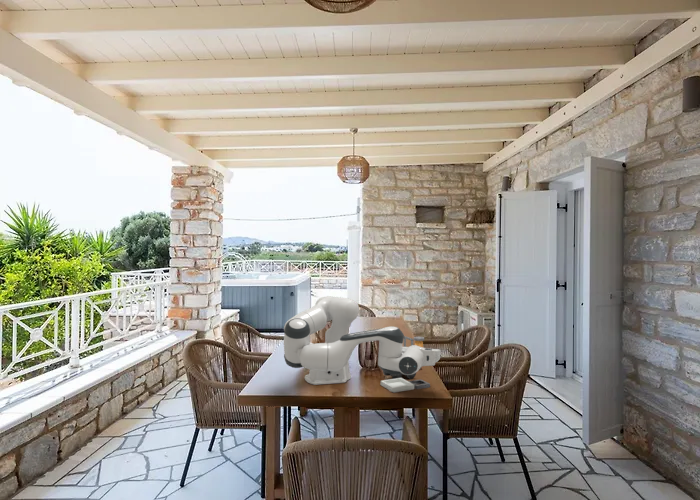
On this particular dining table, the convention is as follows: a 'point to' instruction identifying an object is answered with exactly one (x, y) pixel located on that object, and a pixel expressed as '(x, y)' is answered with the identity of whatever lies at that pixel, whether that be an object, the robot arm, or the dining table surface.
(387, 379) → the block
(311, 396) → the dining table surface
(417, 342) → the pin
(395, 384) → the tray
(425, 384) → the socket
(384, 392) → the dining table surface
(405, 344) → the trolley
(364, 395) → the dining table surface
